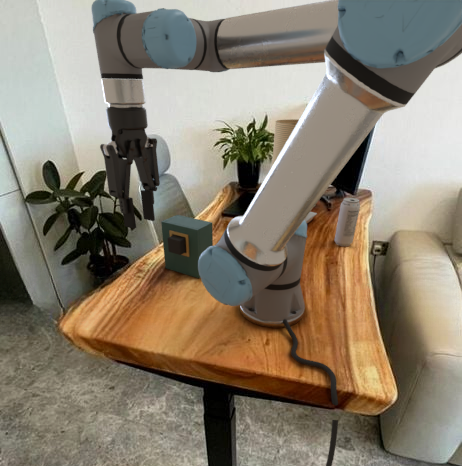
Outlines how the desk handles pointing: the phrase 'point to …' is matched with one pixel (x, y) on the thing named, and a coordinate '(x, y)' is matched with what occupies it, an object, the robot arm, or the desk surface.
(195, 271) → the teal green box
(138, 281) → the desk surface
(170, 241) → the button
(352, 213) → the energy drink can
